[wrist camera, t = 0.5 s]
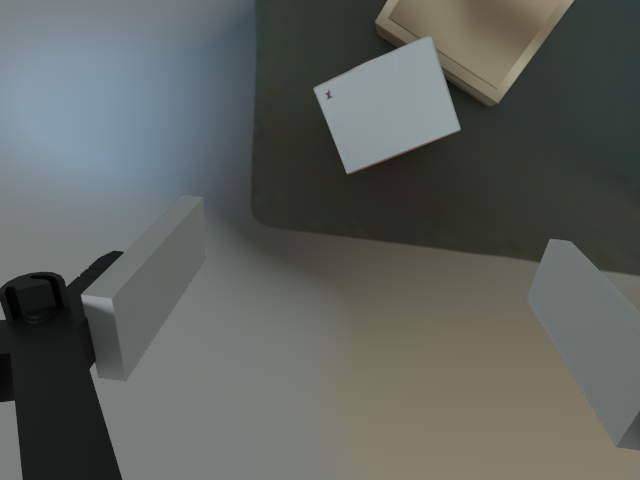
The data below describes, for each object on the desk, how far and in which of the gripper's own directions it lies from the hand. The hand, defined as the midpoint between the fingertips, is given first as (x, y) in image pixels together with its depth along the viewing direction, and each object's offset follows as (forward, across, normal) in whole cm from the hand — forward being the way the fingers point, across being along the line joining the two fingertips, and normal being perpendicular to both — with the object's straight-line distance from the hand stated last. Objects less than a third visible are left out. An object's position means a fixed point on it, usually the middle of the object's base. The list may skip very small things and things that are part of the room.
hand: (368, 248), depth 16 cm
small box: (+26, +3, 0) cm, 27 cm away
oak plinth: (+28, +8, +10) cm, 31 cm away
